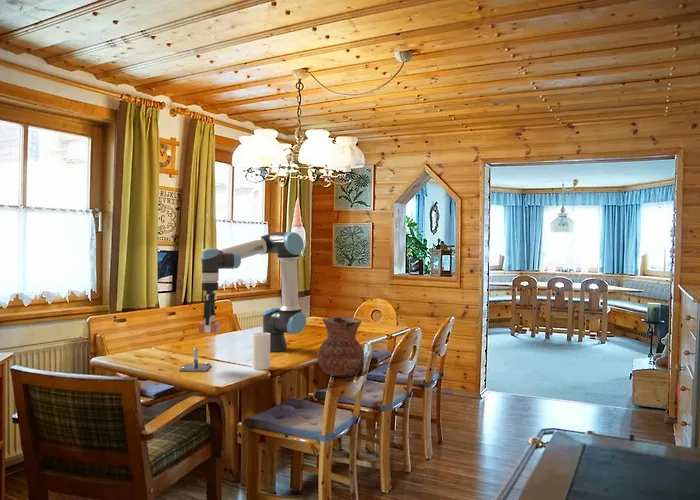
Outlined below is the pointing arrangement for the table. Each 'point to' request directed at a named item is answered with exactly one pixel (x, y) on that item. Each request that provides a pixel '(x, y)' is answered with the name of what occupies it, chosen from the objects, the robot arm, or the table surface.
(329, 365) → the brown clay vase
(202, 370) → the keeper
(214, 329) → the link
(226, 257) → the robot arm
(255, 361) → the cup
